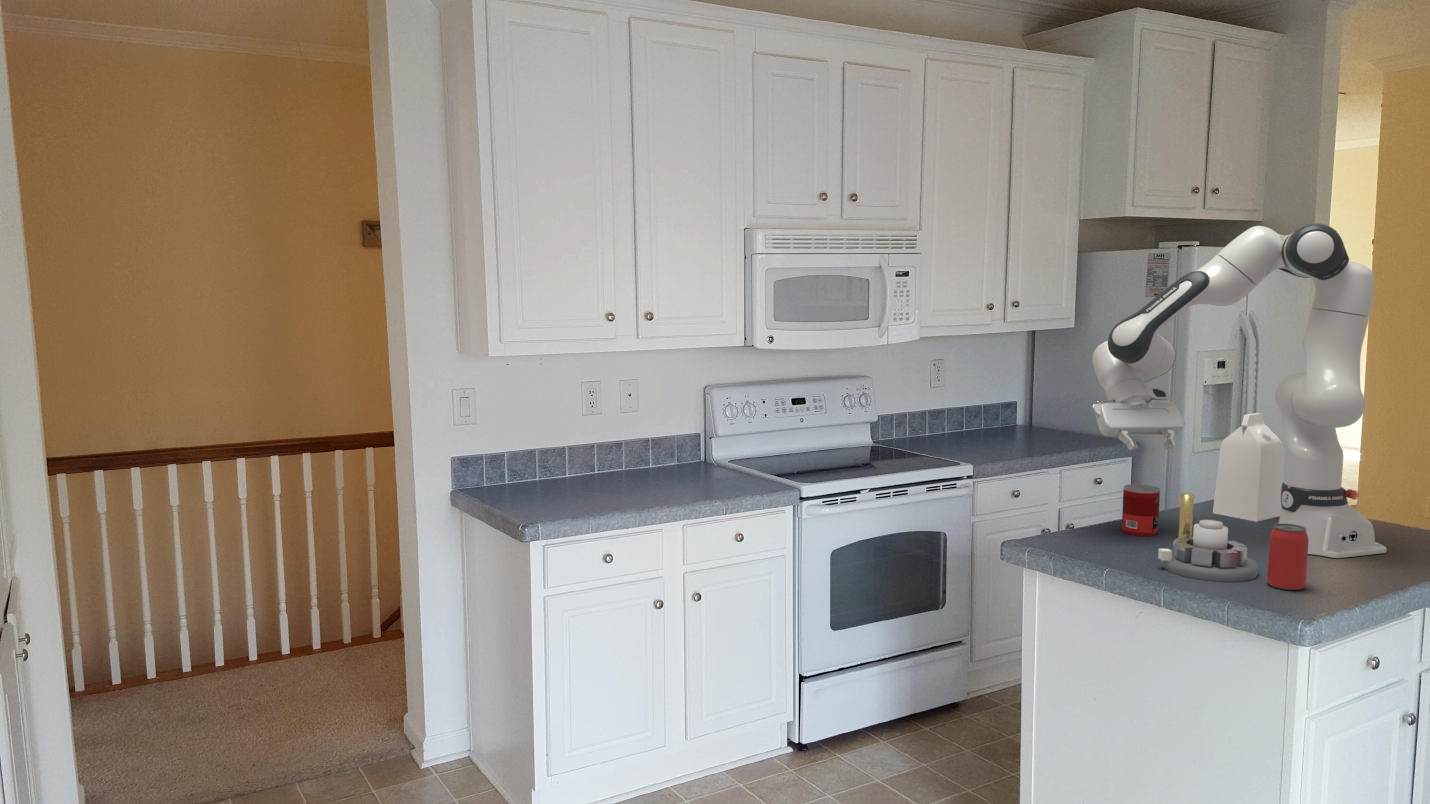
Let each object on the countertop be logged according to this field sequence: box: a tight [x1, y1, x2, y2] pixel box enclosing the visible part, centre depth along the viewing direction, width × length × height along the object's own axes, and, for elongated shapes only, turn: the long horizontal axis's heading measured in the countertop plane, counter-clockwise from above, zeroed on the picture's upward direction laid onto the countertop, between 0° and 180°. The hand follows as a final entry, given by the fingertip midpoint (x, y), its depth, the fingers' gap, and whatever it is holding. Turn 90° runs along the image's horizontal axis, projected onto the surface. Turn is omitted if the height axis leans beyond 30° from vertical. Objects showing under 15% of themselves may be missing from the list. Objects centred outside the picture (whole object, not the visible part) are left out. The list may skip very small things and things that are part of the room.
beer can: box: [1266, 523, 1309, 591], centre depth 196 cm, size 7×7×12 cm
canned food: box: [1121, 483, 1161, 537], centre depth 239 cm, size 8×8×11 cm
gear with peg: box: [1172, 492, 1248, 568], centre depth 210 cm, size 17×13×12 cm
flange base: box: [1157, 519, 1259, 583], centre depth 209 cm, size 19×18×10 cm
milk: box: [1212, 412, 1284, 523], centre depth 256 cm, size 12×12×26 cm
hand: (1152, 448), depth 228 cm, fingers open, 8 cm apart
